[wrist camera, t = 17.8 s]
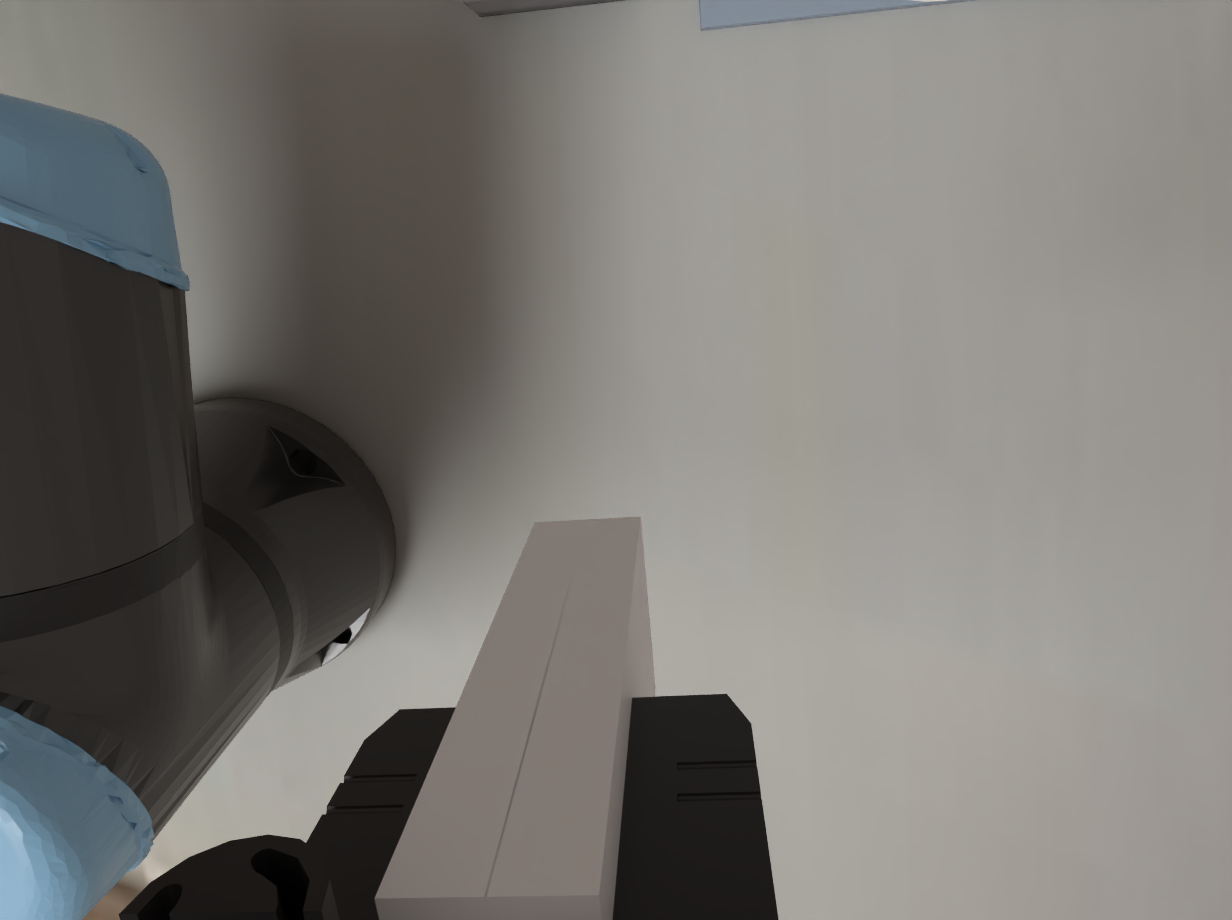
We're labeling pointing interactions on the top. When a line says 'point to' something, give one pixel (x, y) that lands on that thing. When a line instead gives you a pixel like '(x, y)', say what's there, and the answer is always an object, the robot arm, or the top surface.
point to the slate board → (792, 10)
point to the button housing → (523, 5)
